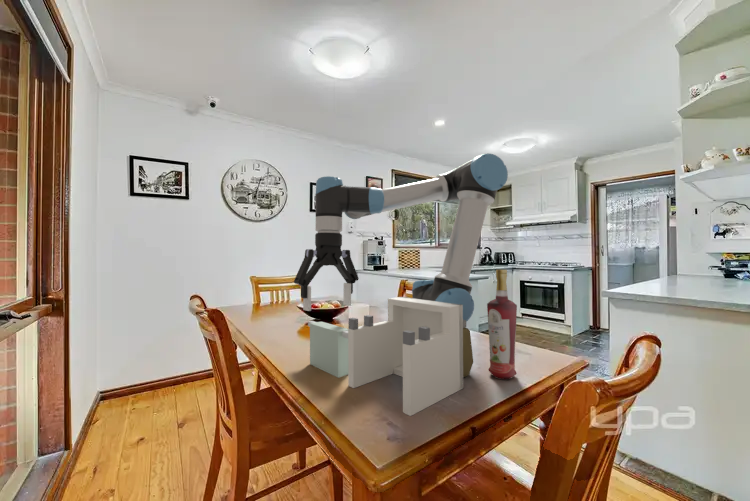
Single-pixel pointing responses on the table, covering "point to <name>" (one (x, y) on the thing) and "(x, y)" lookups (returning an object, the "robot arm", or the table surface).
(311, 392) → the table surface
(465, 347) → the squeeze bottle
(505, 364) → the liquor
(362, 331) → the cabinet
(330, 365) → the door
